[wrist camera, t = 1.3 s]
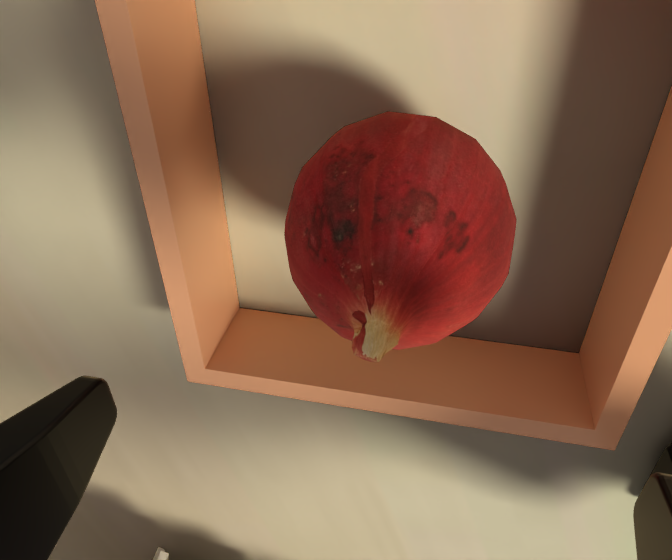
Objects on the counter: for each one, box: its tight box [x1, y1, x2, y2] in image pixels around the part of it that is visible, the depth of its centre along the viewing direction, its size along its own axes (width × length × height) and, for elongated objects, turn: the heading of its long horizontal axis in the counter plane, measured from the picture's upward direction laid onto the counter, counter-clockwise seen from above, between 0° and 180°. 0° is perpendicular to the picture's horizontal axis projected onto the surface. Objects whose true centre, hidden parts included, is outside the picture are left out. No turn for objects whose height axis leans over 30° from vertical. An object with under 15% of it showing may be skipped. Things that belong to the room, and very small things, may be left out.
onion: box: [285, 111, 516, 362], centre depth 14 cm, size 6×6×8 cm
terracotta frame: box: [95, 0, 672, 451], centre depth 16 cm, size 15×15×4 cm
